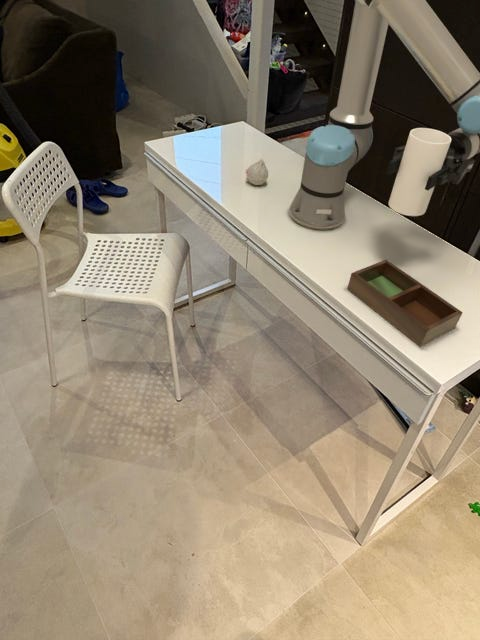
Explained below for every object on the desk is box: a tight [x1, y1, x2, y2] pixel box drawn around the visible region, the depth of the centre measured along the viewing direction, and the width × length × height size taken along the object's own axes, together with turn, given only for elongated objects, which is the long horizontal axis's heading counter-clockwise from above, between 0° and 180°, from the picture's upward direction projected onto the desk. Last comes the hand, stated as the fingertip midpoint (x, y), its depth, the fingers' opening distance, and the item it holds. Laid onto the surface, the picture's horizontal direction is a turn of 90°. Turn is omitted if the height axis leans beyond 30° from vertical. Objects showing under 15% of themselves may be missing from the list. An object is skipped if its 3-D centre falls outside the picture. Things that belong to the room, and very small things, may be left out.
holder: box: [347, 259, 464, 348], centre depth 108 cm, size 11×22×5 cm, turn 34°
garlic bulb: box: [244, 158, 269, 186], centre depth 147 cm, size 6×7×8 cm
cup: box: [388, 127, 451, 217], centre depth 104 cm, size 8×8×16 cm
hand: (408, 175), depth 101 cm, fingers closed on cup, 8 cm apart
